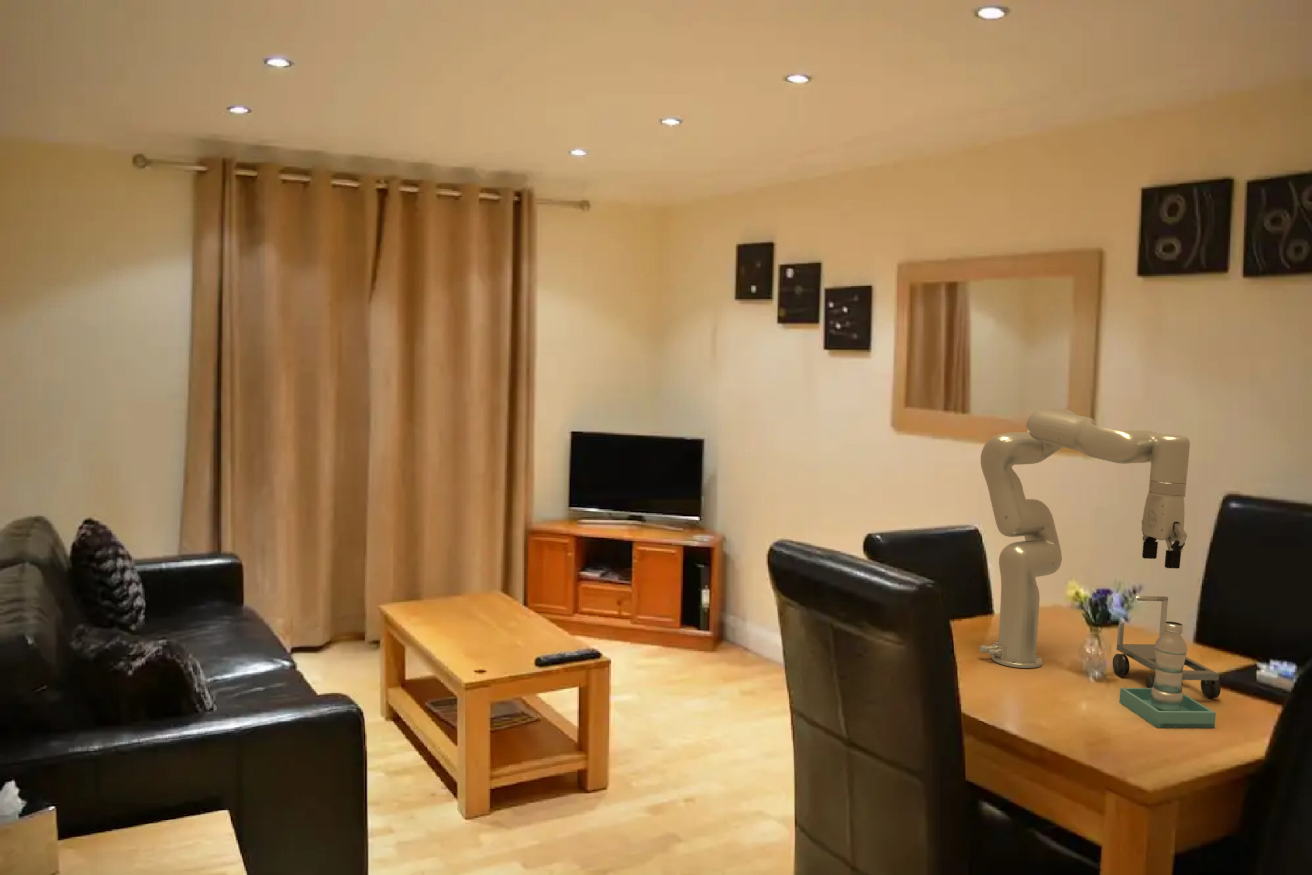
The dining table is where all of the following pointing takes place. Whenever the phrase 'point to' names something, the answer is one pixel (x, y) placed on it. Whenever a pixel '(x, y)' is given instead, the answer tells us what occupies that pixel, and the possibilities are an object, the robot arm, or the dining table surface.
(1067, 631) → the dining table surface
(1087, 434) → the robot arm
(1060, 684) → the dining table surface
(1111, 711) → the dining table surface
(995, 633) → the dining table surface
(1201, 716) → the tray
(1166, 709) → the plastic bottle
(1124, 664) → the trolley
